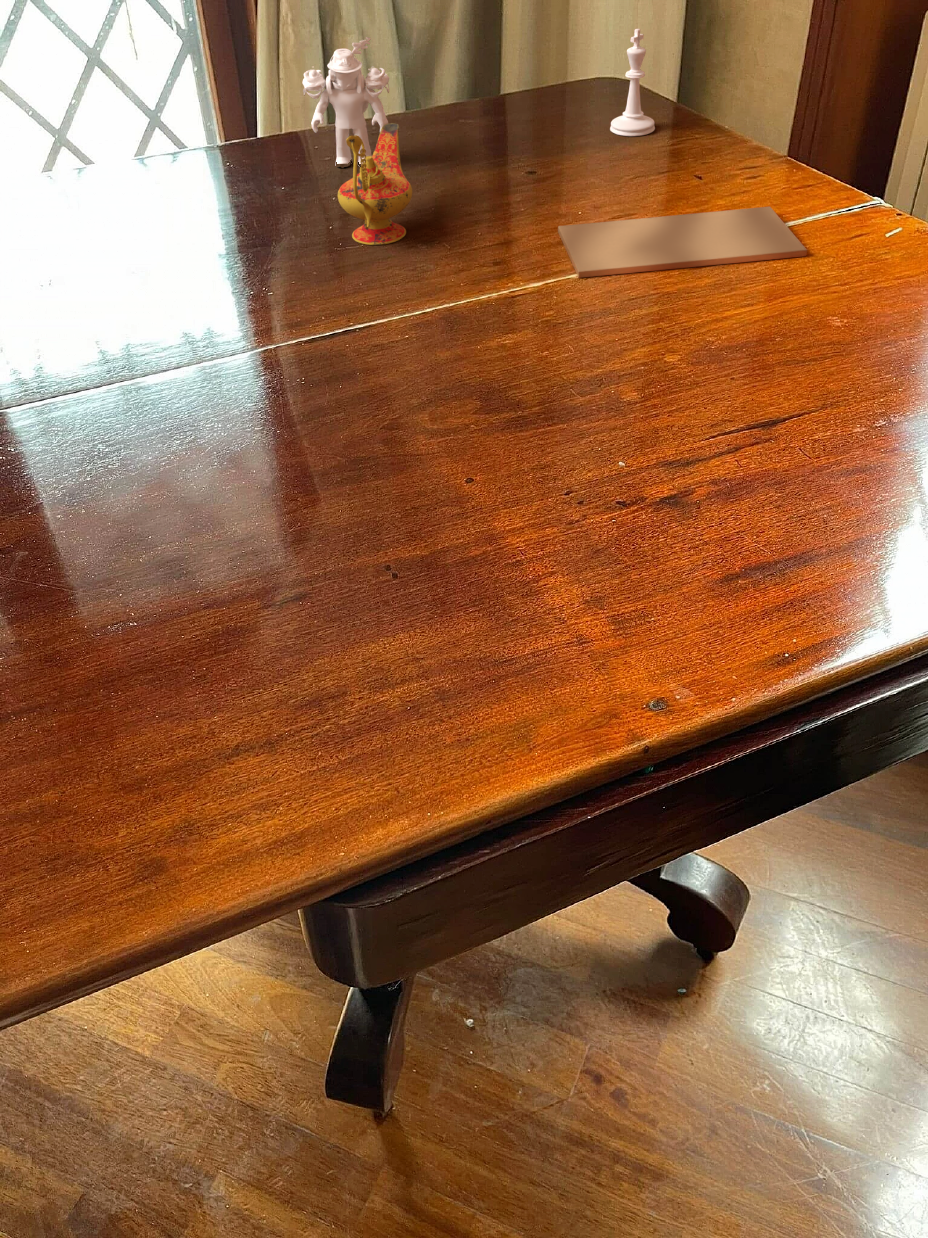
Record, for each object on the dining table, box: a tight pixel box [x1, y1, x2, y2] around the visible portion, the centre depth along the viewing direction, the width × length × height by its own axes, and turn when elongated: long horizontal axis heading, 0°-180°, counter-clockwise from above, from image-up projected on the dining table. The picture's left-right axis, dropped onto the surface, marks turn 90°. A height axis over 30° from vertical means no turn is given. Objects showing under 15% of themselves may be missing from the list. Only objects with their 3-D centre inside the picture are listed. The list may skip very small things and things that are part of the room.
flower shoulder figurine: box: [302, 36, 390, 164], centre depth 113 cm, size 9×4×12 cm, turn 87°
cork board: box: [557, 206, 808, 279], centre depth 98 cm, size 20×10×1 cm, turn 96°
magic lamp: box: [337, 122, 413, 246], centre depth 100 cm, size 7×18×11 cm, turn 173°
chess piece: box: [609, 28, 656, 137], centre depth 118 cm, size 5×5×10 cm
